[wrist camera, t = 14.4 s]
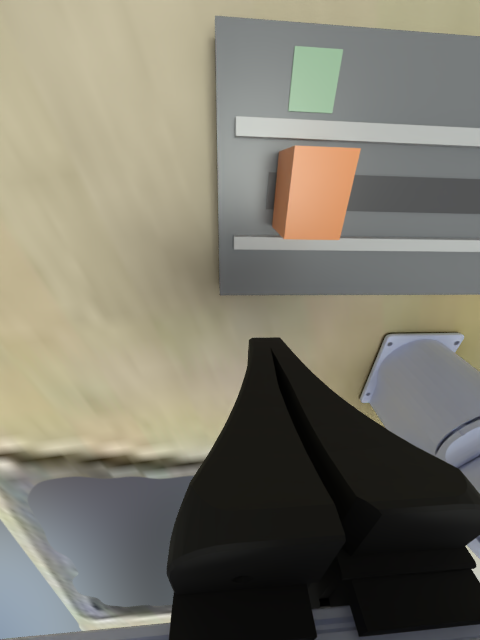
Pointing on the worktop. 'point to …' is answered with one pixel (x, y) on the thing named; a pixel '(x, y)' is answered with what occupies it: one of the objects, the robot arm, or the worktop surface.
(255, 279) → the panel
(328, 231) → the knob
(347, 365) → the worktop surface
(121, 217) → the worktop surface
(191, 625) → the robot arm
